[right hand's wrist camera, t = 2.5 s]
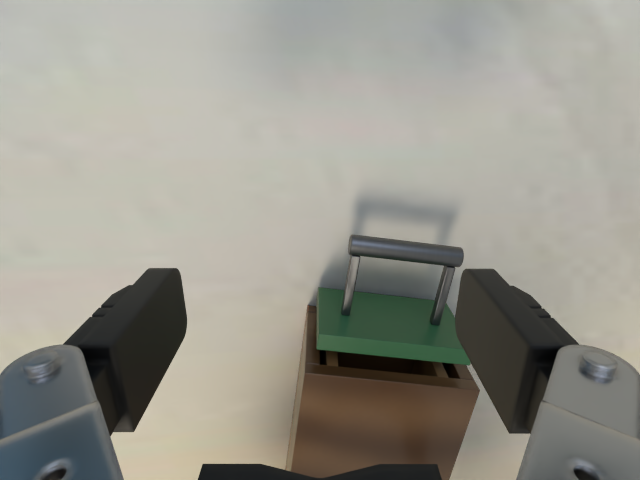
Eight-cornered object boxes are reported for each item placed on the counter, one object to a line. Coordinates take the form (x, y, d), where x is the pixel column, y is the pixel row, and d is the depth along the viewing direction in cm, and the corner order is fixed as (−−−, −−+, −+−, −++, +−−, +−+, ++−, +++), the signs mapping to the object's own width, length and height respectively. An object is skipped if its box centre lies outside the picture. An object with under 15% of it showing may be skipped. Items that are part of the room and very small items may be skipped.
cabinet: (307, 305, 32) (304, 372, 25) (442, 319, 33) (480, 390, 25) (283, 481, 40) (275, 576, 32) (394, 491, 40) (412, 586, 33)
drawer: (328, 216, 29) (331, 249, 23) (464, 232, 29) (501, 269, 23) (292, 465, 38) (288, 535, 32) (397, 474, 38) (411, 545, 32)
